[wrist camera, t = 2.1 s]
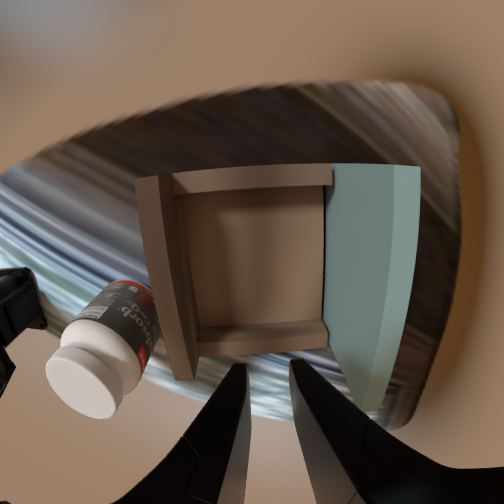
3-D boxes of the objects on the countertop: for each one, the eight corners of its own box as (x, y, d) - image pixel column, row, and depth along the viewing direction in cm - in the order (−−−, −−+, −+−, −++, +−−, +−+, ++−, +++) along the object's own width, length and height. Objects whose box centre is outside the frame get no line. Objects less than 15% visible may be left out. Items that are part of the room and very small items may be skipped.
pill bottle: (178, 329, 21) (145, 425, 12) (124, 343, 22) (78, 425, 12) (146, 266, 20) (82, 343, 10) (92, 287, 20) (23, 356, 11)
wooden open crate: (190, 329, 21) (175, 380, 16) (167, 174, 18) (134, 179, 12) (315, 321, 21) (336, 369, 16) (316, 163, 18) (347, 163, 12)
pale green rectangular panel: (322, 326, 20) (359, 413, 12) (323, 163, 17) (393, 165, 8) (336, 325, 20) (379, 408, 12) (341, 163, 17) (420, 166, 8)
